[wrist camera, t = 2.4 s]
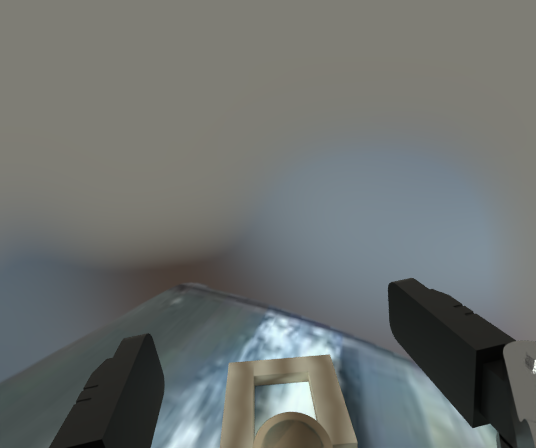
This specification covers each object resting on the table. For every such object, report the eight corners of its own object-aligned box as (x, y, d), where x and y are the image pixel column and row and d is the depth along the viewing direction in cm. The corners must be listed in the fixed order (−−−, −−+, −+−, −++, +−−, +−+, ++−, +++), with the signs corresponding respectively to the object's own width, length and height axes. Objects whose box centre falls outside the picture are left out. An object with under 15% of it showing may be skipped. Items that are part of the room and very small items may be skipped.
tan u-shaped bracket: (221, 466, 36) (219, 454, 35) (230, 372, 49) (229, 362, 48) (356, 454, 36) (357, 442, 35) (329, 364, 49) (329, 354, 49)
